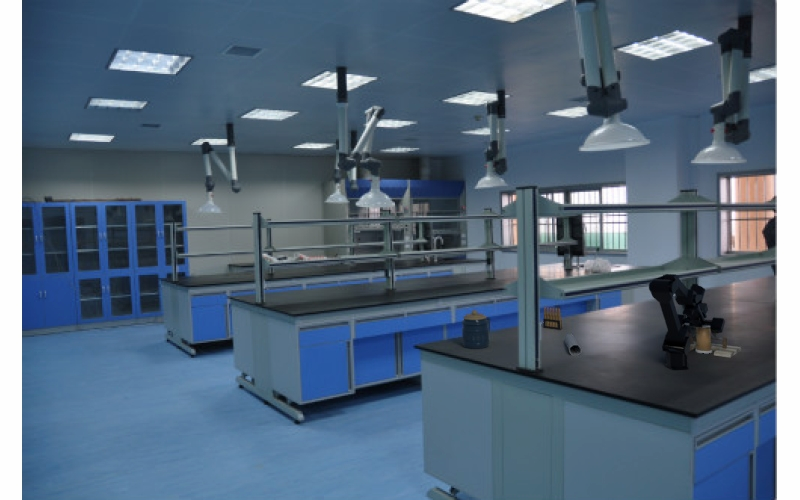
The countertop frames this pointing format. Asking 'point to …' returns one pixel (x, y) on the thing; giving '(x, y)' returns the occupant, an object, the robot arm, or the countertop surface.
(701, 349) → the lidded paper cup
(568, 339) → the tube
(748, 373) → the countertop surface
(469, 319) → the canister
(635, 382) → the countertop surface
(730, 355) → the grey piece
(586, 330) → the countertop surface
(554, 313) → the ammunition clip
